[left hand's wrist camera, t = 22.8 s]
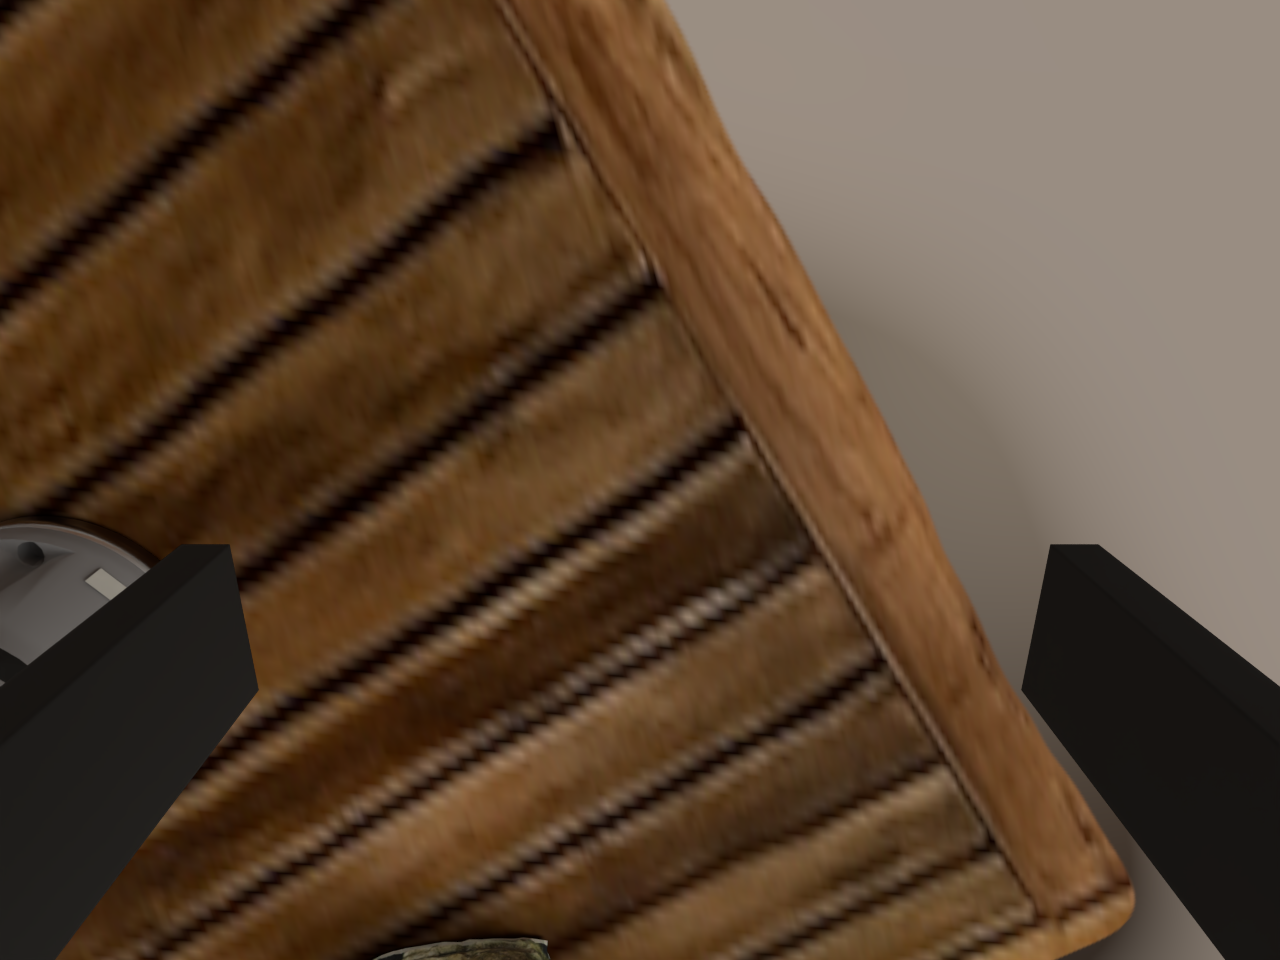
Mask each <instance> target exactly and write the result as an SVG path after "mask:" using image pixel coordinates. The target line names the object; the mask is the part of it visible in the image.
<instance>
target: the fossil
mask: <svg viewBox="0 0 1280 960" xmlns="http://www.w3.org/2000/svg"><path fill="white" fill-rule="evenodd" d="M374 960H550V957H549V955H548V952H547V941H546V940H539V939H533V938H524V937H523V938H516V939H507V938H497V939H469V940H466V941H464V942H440V943H434V944H428V945H422V946H416V947H410V948H405V949H401V950H397V951H392V952H390V953H387V954H384V955H381V956H379V957H377V958H375V959H374Z"/></svg>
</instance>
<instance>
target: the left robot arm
mask: <svg viewBox="0 0 1280 960" xmlns="http://www.w3.org/2000/svg"><path fill="white" fill-rule="evenodd" d="M258 690H259V689H258V684H257V679H256V674H255V669H254V664H253V659H252V654H251V649H250V644H249V639H248V634H247V629H246V624H245V619H244V614H243V609H242V604H241V599H240V594H239V589H238V584H237V579H236V574H235V569H234V564H233V559H232V554H231V549H230V544H182V545H180V546H179V547H178V548H176V549H175V550H174V551H173V552H171V553H170V554H169V555H168V556H166V557H165V558H164V559H162V560H161V561H160V560H158V559H157V558H156V557H155V556H154V555H152V554H151V553H149V552H148V551H147V550H145V549H144V548H142V547H141V546H139V545H138V544H136V543H134V542H133V541H131V540H129V539H127V538H125V537H123V536H122V535H120V534H118V533H115V532H113V531H111V530H108V529H106V528H103V527H100V526H97V525H94V524H91V523H88V522H84V521H80V520H76V519H70V518H64V517H55V516H29V517H20V518H15V519H10V520H6V521H3V522H0V960H55V959H56V958H57V956H58V955H59V954H60V952H61V951H62V950H63V948H64V947H65V946H66V944H67V943H68V942H69V940H70V939H71V938H72V936H73V935H74V934H75V932H76V931H77V930H78V928H79V927H80V926H81V924H82V923H83V922H84V920H85V919H86V918H87V917H88V915H89V914H90V913H91V911H92V910H93V909H94V907H95V906H96V905H97V903H98V902H99V901H100V899H101V898H102V897H103V895H104V894H105V893H106V891H107V890H108V889H109V887H110V886H111V885H112V883H113V882H114V881H115V879H116V878H117V877H118V875H119V874H120V873H121V871H122V870H123V869H124V868H125V866H126V865H127V864H128V862H129V861H130V860H131V858H132V857H133V856H134V854H135V853H136V852H137V850H138V849H139V848H140V846H141V845H142V844H143V842H144V841H145V840H146V838H147V837H148V836H149V834H150V833H151V832H152V830H153V829H154V828H155V826H156V825H157V824H158V823H159V821H160V820H161V819H162V817H163V816H164V815H165V813H166V812H167V811H168V809H169V808H170V807H171V805H172V804H173V803H174V801H175V800H176V799H177V797H178V796H179V795H180V793H181V792H182V791H183V789H184V788H185V787H186V785H187V784H188V783H189V781H190V780H191V779H192V778H193V776H194V775H195V774H196V772H197V771H198V770H199V768H200V767H201V766H202V764H203V763H204V762H205V760H206V759H207V758H208V756H209V755H210V754H211V752H212V751H213V750H214V748H215V747H216V746H217V744H218V743H219V742H220V740H221V739H222V738H223V736H224V735H225V734H226V733H227V731H228V730H229V729H230V727H231V726H232V725H233V723H234V722H235V721H236V719H237V718H238V717H239V715H240V714H241V713H242V711H243V710H244V709H245V707H246V706H247V705H248V703H249V702H250V701H251V699H252V698H253V697H254V695H255V694H256V693H257V691H258ZM1021 690H1022V691H1023V693H1024V694H1025V695H1026V697H1027V698H1028V699H1029V701H1030V702H1031V703H1032V705H1033V706H1034V707H1035V709H1036V710H1037V711H1038V713H1039V714H1040V715H1041V717H1042V718H1043V719H1044V721H1045V722H1046V723H1047V725H1048V726H1049V727H1050V729H1051V730H1052V731H1053V733H1054V734H1055V735H1056V736H1057V738H1058V739H1059V740H1060V742H1061V743H1062V744H1063V746H1064V747H1065V748H1066V750H1067V751H1068V752H1069V754H1070V755H1071V756H1072V758H1073V759H1074V760H1075V762H1076V763H1077V764H1078V765H1079V767H1080V768H1081V770H1082V771H1083V772H1084V773H1085V775H1086V776H1087V778H1088V779H1089V780H1090V781H1091V783H1092V784H1093V785H1094V787H1095V788H1096V789H1097V791H1098V792H1099V793H1100V795H1101V796H1102V797H1103V799H1104V800H1105V801H1106V803H1107V804H1108V805H1109V807H1110V808H1111V809H1112V811H1113V812H1114V813H1115V815H1116V816H1117V817H1118V819H1119V820H1120V821H1121V822H1122V824H1123V825H1124V826H1125V828H1126V829H1127V830H1128V832H1129V833H1130V834H1131V836H1132V837H1133V838H1134V840H1135V841H1136V842H1137V844H1138V845H1139V846H1140V848H1141V849H1142V850H1143V852H1144V853H1145V854H1146V856H1147V857H1148V858H1149V860H1150V861H1151V862H1152V864H1153V865H1154V866H1155V868H1156V869H1157V870H1158V871H1159V873H1160V874H1161V875H1162V877H1163V878H1164V879H1165V881H1166V882H1167V883H1168V885H1169V886H1170V887H1171V889H1172V890H1173V891H1174V893H1175V894H1176V895H1177V897H1178V898H1179V899H1180V901H1181V902H1182V903H1183V905H1184V906H1185V907H1186V909H1187V910H1188V911H1189V913H1190V914H1191V915H1192V916H1193V918H1194V919H1195V920H1196V922H1197V923H1198V924H1199V926H1200V927H1201V928H1202V930H1203V931H1204V932H1205V934H1206V935H1207V936H1208V938H1209V939H1210V940H1211V942H1212V943H1213V944H1214V946H1215V947H1216V948H1217V950H1218V951H1219V952H1220V954H1221V955H1222V956H1223V958H1224V959H1225V960H1280V686H1278V685H1277V684H1276V683H1275V682H1273V681H1272V680H1271V679H1269V678H1268V677H1267V676H1265V675H1264V674H1263V673H1262V672H1260V671H1259V670H1258V669H1257V668H1255V667H1254V666H1253V665H1252V664H1250V663H1249V662H1248V661H1246V660H1245V659H1244V658H1243V657H1241V656H1240V655H1239V654H1238V653H1236V652H1235V651H1234V650H1232V649H1231V648H1230V647H1229V646H1227V645H1226V644H1225V643H1223V642H1222V641H1221V640H1220V639H1218V638H1217V637H1216V636H1215V635H1213V634H1212V633H1211V632H1209V631H1208V630H1207V629H1206V628H1204V627H1203V626H1202V625H1200V624H1199V623H1198V622H1197V621H1195V620H1194V619H1193V618H1192V617H1190V616H1189V615H1188V614H1186V613H1185V612H1184V611H1183V610H1181V609H1180V608H1179V607H1178V606H1176V605H1175V604H1174V603H1172V602H1171V601H1170V600H1169V599H1167V598H1166V597H1165V596H1164V595H1162V594H1161V593H1160V592H1158V591H1157V590H1156V589H1155V588H1153V587H1152V586H1151V585H1149V584H1148V583H1147V582H1146V581H1144V580H1143V579H1142V578H1141V577H1139V576H1138V575H1137V574H1135V573H1134V572H1133V571H1132V570H1130V569H1129V568H1128V567H1126V566H1125V565H1124V564H1123V563H1121V562H1120V561H1119V560H1117V559H1116V558H1115V557H1114V556H1112V555H1111V554H1110V553H1109V552H1107V551H1106V550H1105V549H1104V548H1102V547H1101V546H1100V545H1098V544H1051V545H1050V549H1049V554H1048V559H1047V564H1046V569H1045V574H1044V580H1043V584H1042V589H1041V594H1040V599H1039V604H1038V609H1037V614H1036V620H1035V624H1034V629H1033V634H1032V639H1031V644H1030V649H1029V655H1028V660H1027V664H1026V669H1025V674H1024V679H1023V684H1022V689H1021Z"/></svg>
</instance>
